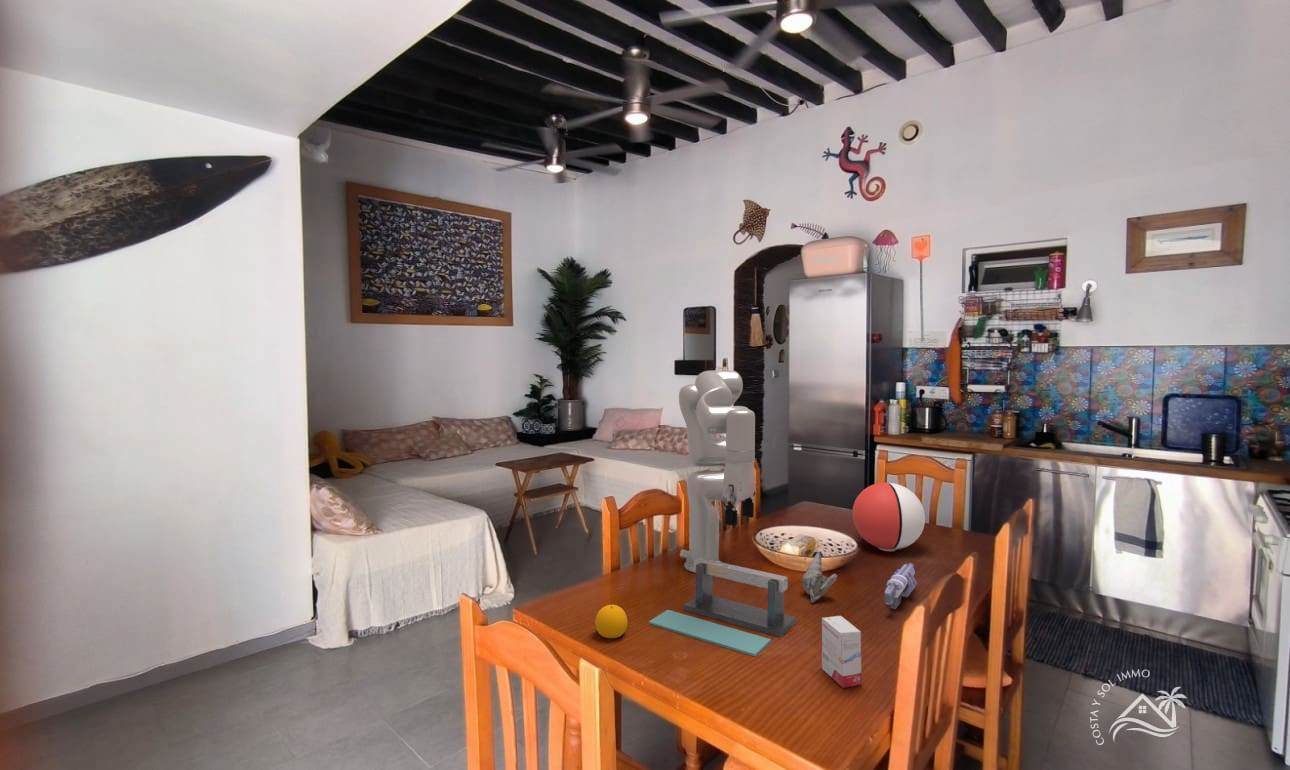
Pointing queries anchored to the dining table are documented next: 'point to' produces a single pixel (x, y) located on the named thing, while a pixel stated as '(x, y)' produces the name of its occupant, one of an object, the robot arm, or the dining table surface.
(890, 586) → the toy gun
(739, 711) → the dining table surface
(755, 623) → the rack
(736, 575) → the rail
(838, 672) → the ink box
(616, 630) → the yellow orange fruit
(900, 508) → the ball
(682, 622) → the mat
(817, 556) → the seashell
